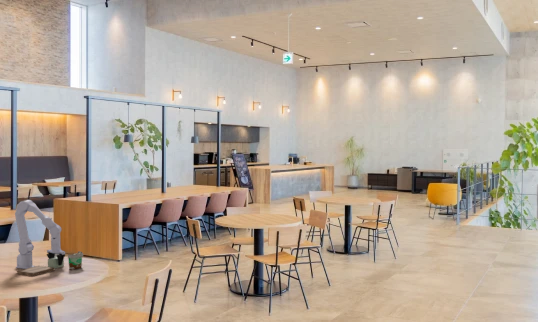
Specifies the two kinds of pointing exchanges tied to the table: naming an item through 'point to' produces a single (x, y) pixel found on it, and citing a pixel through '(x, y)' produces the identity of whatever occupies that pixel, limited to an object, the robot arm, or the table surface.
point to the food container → (75, 261)
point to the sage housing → (54, 263)
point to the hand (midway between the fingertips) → (56, 264)
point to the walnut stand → (35, 270)
